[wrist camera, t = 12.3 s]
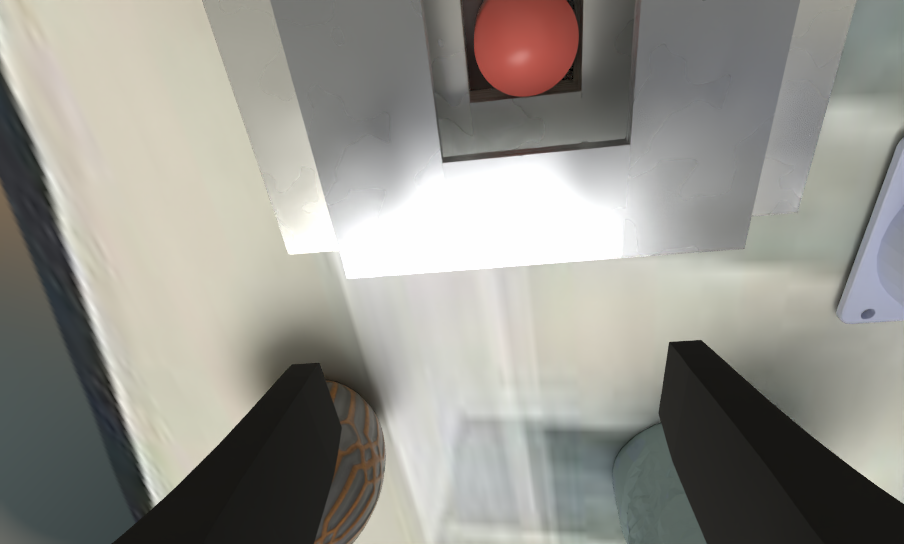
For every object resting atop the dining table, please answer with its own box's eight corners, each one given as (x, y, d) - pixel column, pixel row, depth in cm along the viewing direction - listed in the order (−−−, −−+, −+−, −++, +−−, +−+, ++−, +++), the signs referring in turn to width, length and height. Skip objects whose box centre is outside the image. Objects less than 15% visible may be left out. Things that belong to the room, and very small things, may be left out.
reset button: (565, -28, 15) (579, -24, 13) (564, 72, 16) (578, 91, 14) (470, -16, 15) (468, -10, 13) (478, 82, 17) (478, 101, 14)
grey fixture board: (903, -333, 11) (1105, -465, 8) (774, 193, 18) (848, 255, 15) (164, -199, 13) (43, -255, 10) (301, 234, 20) (261, 298, 17)
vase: (349, 339, 23) (289, 521, 16) (418, 431, 26) (395, 618, 19) (231, 381, 25) (129, 562, 18) (309, 463, 28) (250, 644, 21)
